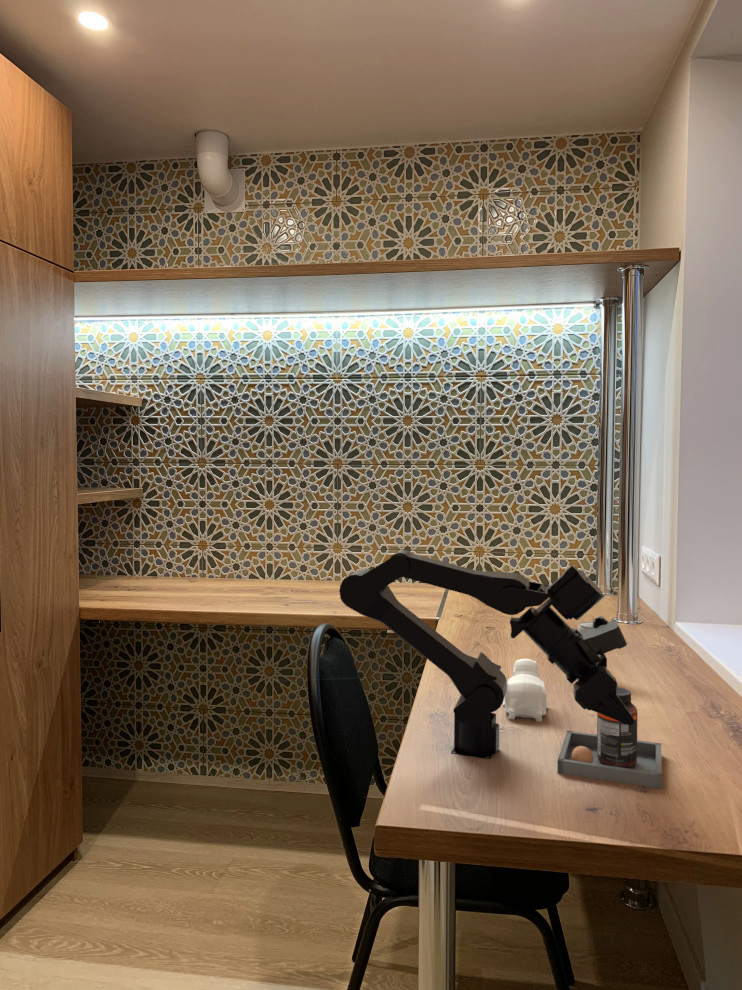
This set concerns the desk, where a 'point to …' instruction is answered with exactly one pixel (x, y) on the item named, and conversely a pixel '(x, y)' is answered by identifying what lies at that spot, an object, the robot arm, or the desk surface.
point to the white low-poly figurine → (525, 692)
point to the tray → (640, 774)
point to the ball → (582, 754)
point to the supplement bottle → (617, 736)
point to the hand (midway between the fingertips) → (628, 712)
